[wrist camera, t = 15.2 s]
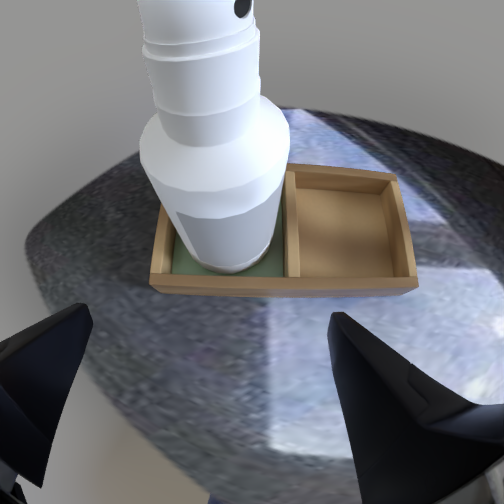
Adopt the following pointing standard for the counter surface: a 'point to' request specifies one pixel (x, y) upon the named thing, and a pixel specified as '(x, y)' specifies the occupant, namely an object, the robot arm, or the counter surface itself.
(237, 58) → the spray bottle
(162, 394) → the counter surface
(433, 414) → the robot arm
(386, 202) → the holder
